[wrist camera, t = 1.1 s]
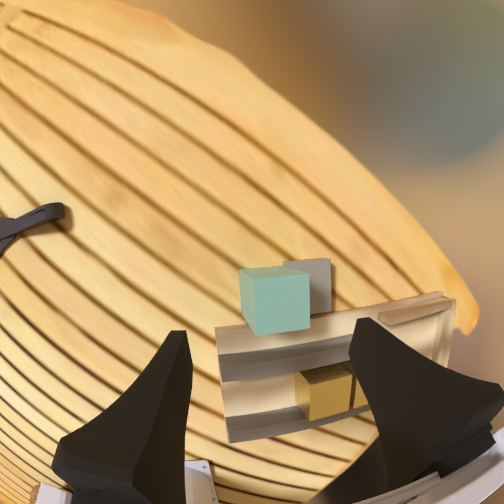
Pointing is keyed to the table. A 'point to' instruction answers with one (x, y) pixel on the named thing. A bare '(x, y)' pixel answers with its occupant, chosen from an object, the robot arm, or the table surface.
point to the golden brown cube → (323, 391)
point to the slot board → (314, 360)
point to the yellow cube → (354, 387)
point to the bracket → (28, 222)
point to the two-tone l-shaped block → (285, 295)
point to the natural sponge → (35, 494)
